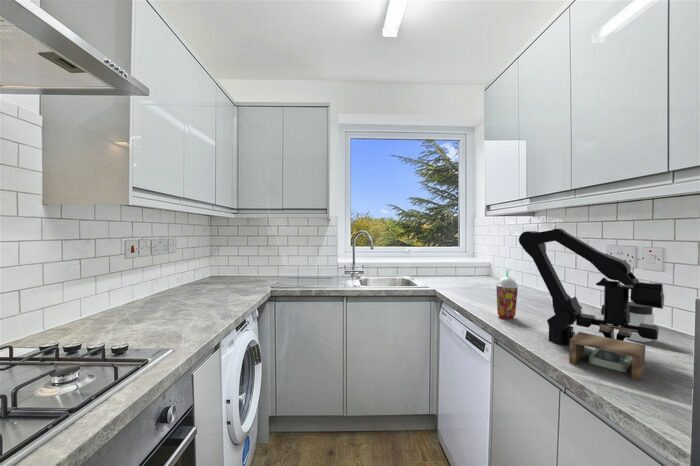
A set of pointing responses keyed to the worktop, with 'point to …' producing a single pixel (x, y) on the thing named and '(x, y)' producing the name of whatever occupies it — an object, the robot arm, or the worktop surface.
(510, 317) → the smoothie
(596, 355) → the tray
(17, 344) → the worktop surface
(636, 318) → the jar
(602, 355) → the grey smooth round-ended part
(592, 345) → the shelf
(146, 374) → the worktop surface
